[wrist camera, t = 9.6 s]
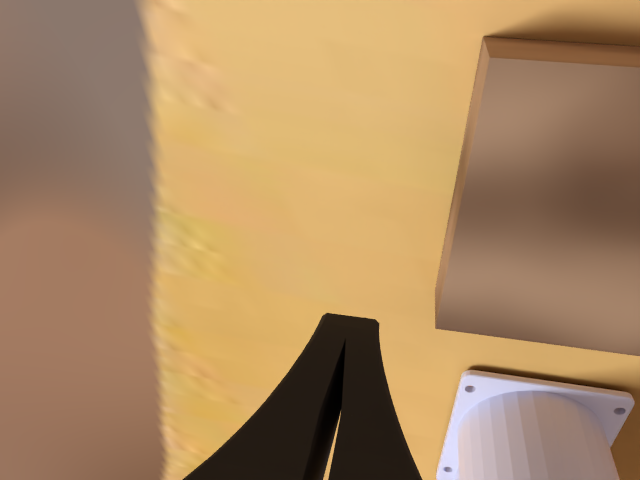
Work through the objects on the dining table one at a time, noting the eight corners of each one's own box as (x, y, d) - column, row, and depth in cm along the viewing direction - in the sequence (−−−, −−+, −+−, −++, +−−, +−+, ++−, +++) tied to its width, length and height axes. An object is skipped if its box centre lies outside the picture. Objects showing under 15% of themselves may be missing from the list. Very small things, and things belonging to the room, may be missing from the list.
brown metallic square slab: (697, 322, 22) (724, 367, 20) (435, 290, 24) (435, 328, 22) (852, 59, 16) (913, 85, 14) (483, 36, 17) (489, 57, 15)
